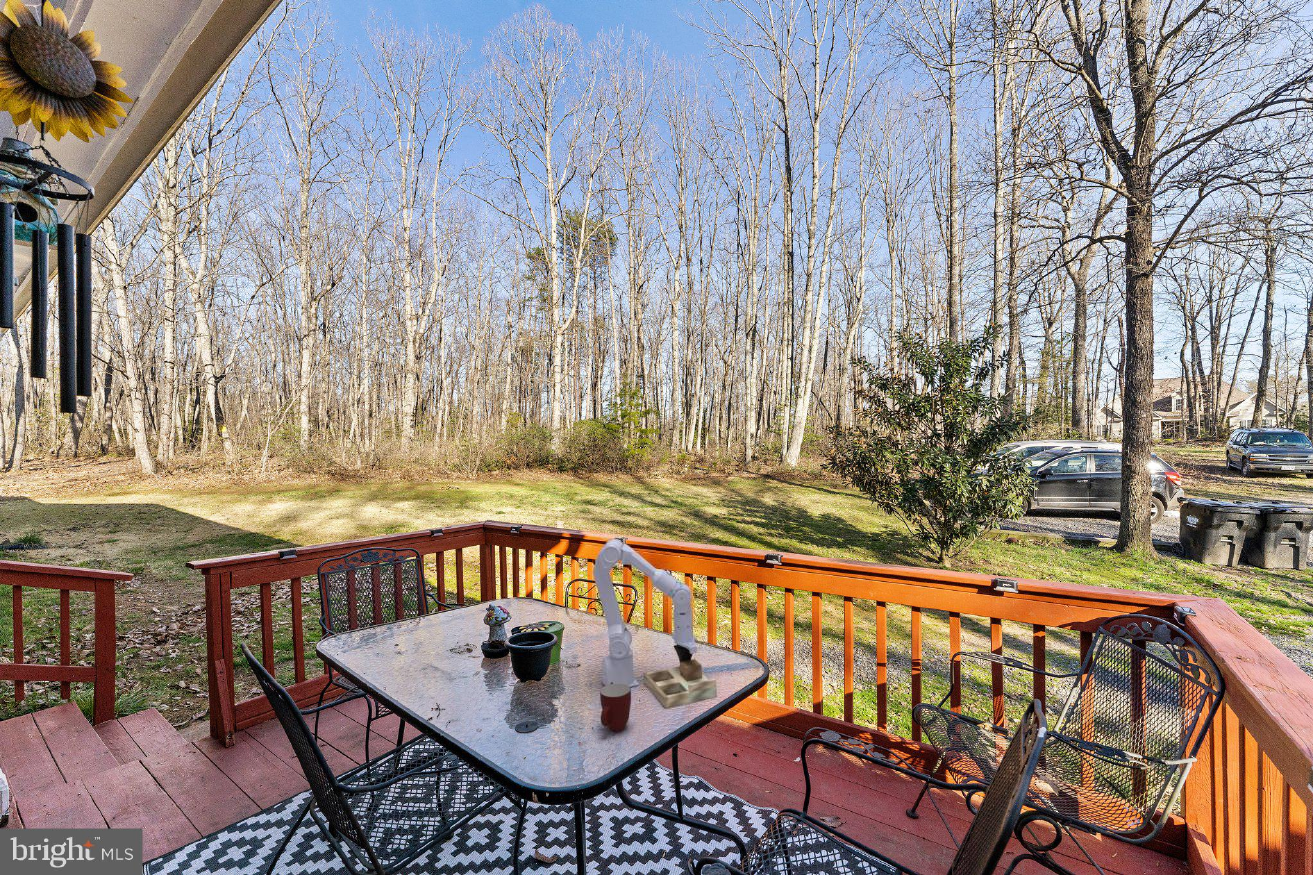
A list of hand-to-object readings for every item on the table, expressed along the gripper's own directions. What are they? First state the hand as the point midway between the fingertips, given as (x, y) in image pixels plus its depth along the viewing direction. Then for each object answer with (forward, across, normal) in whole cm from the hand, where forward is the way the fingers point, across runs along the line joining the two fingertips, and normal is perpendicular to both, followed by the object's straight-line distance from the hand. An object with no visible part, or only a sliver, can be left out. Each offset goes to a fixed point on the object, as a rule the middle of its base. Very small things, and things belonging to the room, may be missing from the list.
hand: (685, 668), depth 175 cm
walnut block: (+1, -4, 0) cm, 4 cm away
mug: (+4, -18, +28) cm, 34 cm away
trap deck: (+4, -4, +4) cm, 7 cm away
